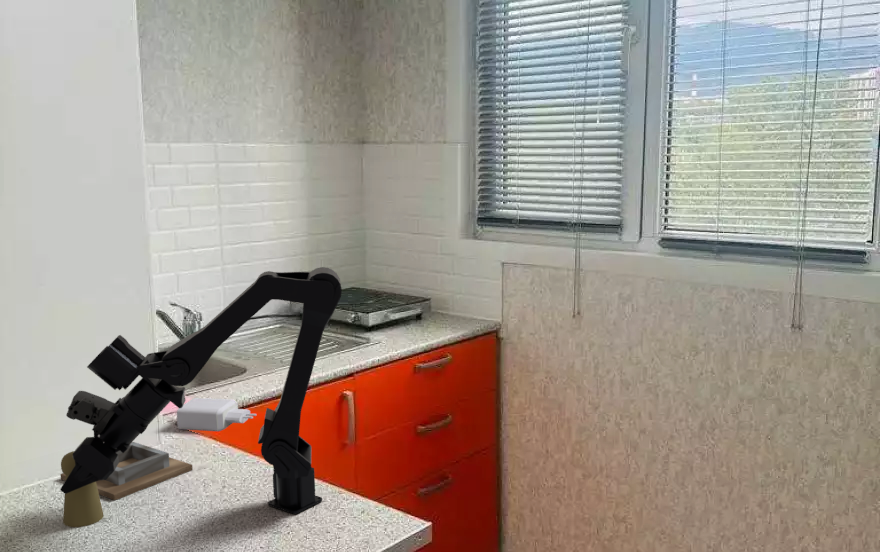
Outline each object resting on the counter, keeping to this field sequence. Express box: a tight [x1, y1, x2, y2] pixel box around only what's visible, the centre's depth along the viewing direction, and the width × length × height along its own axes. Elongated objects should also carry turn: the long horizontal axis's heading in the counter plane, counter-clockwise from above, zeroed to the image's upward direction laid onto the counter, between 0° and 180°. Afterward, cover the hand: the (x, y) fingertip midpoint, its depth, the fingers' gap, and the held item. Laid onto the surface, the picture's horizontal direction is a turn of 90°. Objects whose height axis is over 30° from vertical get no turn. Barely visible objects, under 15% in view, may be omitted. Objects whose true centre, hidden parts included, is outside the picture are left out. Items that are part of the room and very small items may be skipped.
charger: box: [176, 397, 257, 432], centre depth 183 cm, size 5×9×15 cm
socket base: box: [60, 441, 193, 501], centre depth 157 cm, size 16×16×4 cm
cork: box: [60, 450, 105, 528], centre depth 138 cm, size 6×6×11 cm
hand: (70, 479), depth 138 cm, fingers open, 9 cm apart
